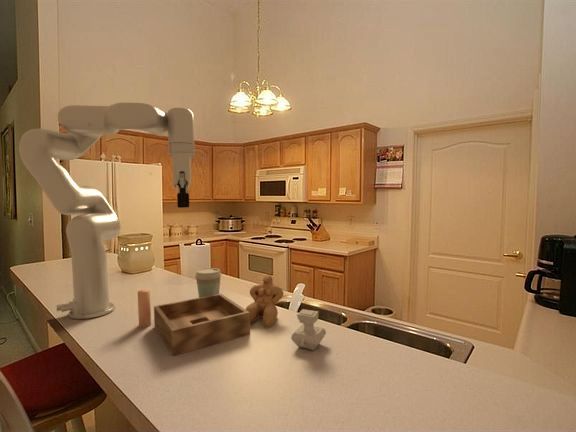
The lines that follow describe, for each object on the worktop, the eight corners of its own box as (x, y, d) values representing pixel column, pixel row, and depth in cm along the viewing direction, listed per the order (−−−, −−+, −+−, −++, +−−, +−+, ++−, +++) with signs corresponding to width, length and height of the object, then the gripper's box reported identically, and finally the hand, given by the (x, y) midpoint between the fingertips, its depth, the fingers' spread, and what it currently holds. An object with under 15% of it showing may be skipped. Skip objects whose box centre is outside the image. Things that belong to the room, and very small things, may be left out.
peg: (140, 328, 90) (138, 293, 89) (138, 324, 93) (136, 290, 92) (152, 325, 92) (150, 291, 91) (149, 322, 94) (148, 288, 94)
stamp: (315, 357, 73) (314, 321, 73) (288, 351, 76) (288, 316, 76) (327, 340, 81) (327, 308, 81) (303, 335, 84) (303, 304, 84)
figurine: (238, 325, 92) (243, 272, 95) (252, 323, 100) (256, 275, 104) (273, 328, 88) (276, 273, 92) (284, 326, 96) (287, 275, 100)
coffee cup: (215, 310, 103) (214, 274, 102) (191, 309, 105) (190, 273, 104) (226, 302, 111) (225, 268, 111) (203, 300, 113) (202, 267, 112)
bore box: (173, 355, 74) (172, 330, 74) (154, 326, 91) (153, 306, 90) (250, 334, 85) (249, 312, 85) (221, 312, 102) (220, 293, 102)
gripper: (170, 154, 105) (172, 206, 106) (166, 146, 88) (168, 208, 89) (194, 154, 107) (196, 205, 108) (194, 146, 90) (196, 207, 91)
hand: (183, 206), depth 99 cm, fingers open, 9 cm apart
